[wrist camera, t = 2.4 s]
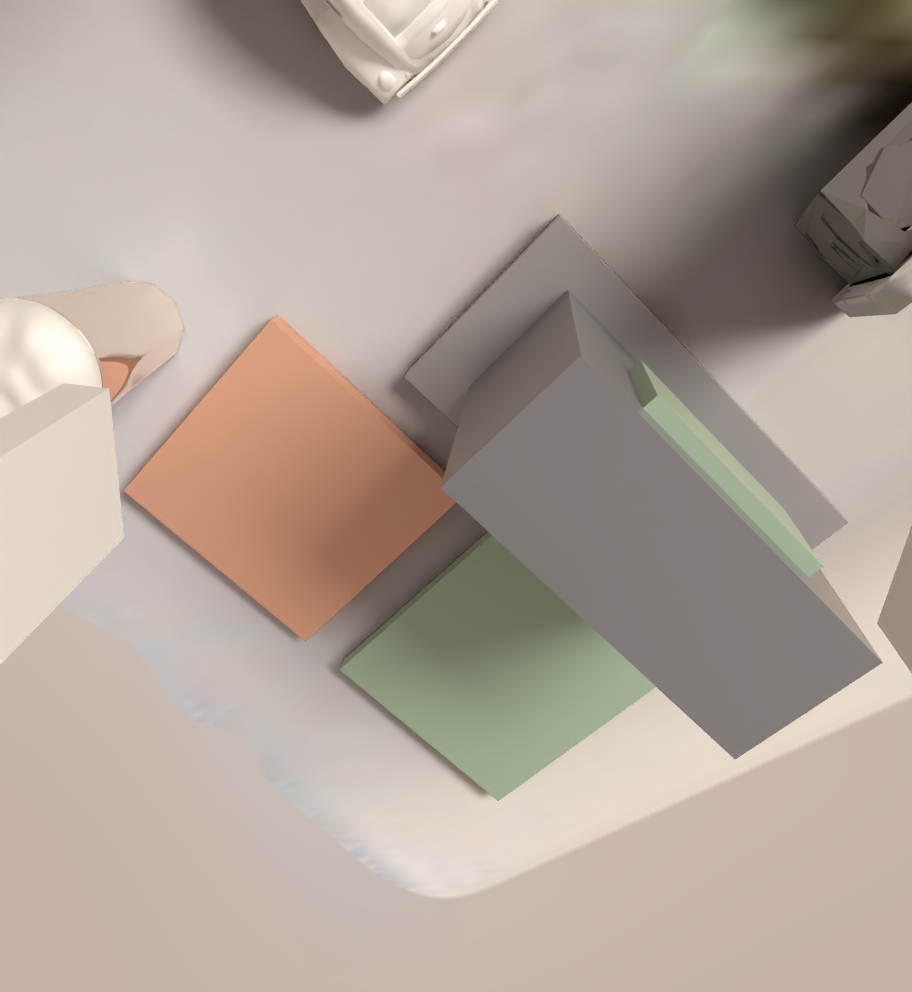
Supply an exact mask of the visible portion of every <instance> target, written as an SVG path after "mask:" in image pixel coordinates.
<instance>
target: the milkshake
mask: <svg viewBox="0 0 912 992" xmlns="http://www.w3.org/2000/svg"><path fill="white" fill-rule="evenodd" d="M183 332H184V326H183V323H182V320H181V317H180V314H179V311H178V308H177V304H176V303H175V302H174V301H173V300H172V299H171V298H170V297H168V296H167V295H166V294H165V293H164V292H163V291H161V290H160V289H159V288H158V287H157V286H156V285H154V284H146V283H138V282H131V281H125V282H119V283H112V284H106V285H100V286H94V287H87V288H81V289H75V290H69V291H63V292H58V293H50V294H41V295H32V296H22V297H13V298H1V299H0V419H1V418H2V417H4V416H6V415H8V414H9V413H11V412H13V411H15V410H17V409H18V408H20V407H22V406H24V405H25V404H27V403H29V402H31V401H33V400H34V399H36V398H38V397H40V396H42V395H43V394H45V393H47V392H49V391H50V390H52V389H54V388H56V387H58V386H59V385H61V384H63V383H66V384H75V385H85V386H94V387H103V388H109V391H110V401H111V407H112V406H113V405H114V404H115V403H116V402H117V401H118V400H119V399H121V398H122V397H123V396H124V395H125V394H126V393H127V392H129V391H130V390H131V389H132V388H133V387H135V386H136V385H137V384H138V383H140V382H141V381H142V380H143V379H145V378H146V377H147V376H148V375H150V374H151V373H152V372H154V371H155V370H156V369H157V368H159V367H160V366H161V365H162V364H164V363H165V362H166V361H167V360H169V359H170V358H171V357H172V356H174V355H175V354H176V353H177V351H178V348H179V345H180V341H181V338H182V335H183Z"/></svg>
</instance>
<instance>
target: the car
mask: <svg viewBox="0 0 912 992" xmlns="http://www.w3.org/2000/svg"><path fill="white" fill-rule="evenodd" d="M300 1H301V2H302V4H303V5H304V7H305V8H306V10H307V11H308V13H309V14H310V16H311V17H312V19H313V20H314V22H315V23H316V25H317V27H318V28H319V30H320V32H321V33H322V34H323V36H324V37H325V38H326V40H327V41H328V42H329V44H330V46H331V47H332V49H333V51H334V52H335V53H336V55H337V56H338V57H339V59H340V60H341V61H342V63H343V65H344V66H345V68H346V69H347V70H349V71H350V72H351V73H352V74H353V75H354V76H355V77H356V78H357V79H358V80H359V81H360V82H361V83H362V84H363V85H365V86H366V87H367V88H368V89H369V90H370V91H371V92H372V93H373V94H374V95H375V96H376V97H377V98H378V99H379V100H380V101H381V102H382V103H383V104H384V105H385V104H386V103H387V102H388V101H389V100H390V99H391V98H392V97H393V96H394V95H395V94H396V95H397V96H398V97H399V98H401V97H402V96H403V95H405V94H406V93H407V92H408V91H410V90H411V89H412V88H413V87H414V86H416V85H417V84H418V83H419V82H420V81H421V80H423V79H424V78H425V77H426V76H427V75H428V74H429V73H430V72H432V71H433V70H434V69H435V68H436V67H437V66H438V65H439V64H440V63H441V62H442V61H443V60H444V59H445V58H446V57H447V56H448V55H449V54H450V53H451V52H452V51H453V50H454V49H455V48H456V47H457V46H458V45H459V44H460V43H461V42H462V41H463V40H464V39H465V38H466V37H467V36H468V35H469V34H470V33H471V32H472V31H473V30H474V29H475V28H476V27H477V26H478V25H479V24H480V22H481V21H482V20H483V19H484V18H485V17H486V16H487V15H488V13H489V12H490V11H491V10H492V9H493V8H494V7H495V5H496V4H497V3H498V2H499V1H500V0H491V1H490V0H300ZM485 3H486V4H487V6H486V7H485V8H484V5H485ZM483 8H484V9H483ZM478 14H479V15H478ZM417 73H419V74H418V75H417V76H416V77H415V76H413V75H414V74H417ZM411 77H412V78H414V79H413V80H411V81H410V82H409V83H408V84H407V85H405V86H404V87H403V88H402V89H401V90H399V89H400V88H401V87H402V86H403V85H404V84H405V83H406V82H407V81H408V80H409V79H410V78H411ZM398 90H399V91H398ZM397 91H398V92H397ZM396 92H397V93H396Z"/></svg>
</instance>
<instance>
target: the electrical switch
mask: <svg viewBox="0 0 912 992" xmlns="http://www.w3.org/2000/svg"><path fill="white" fill-rule="evenodd" d="M820 192H821V193H822V194H823V195H824V196H825V198H824V199H823V198H822V197H821V196H820V195H819V194H817V195H816V196H815V198H814V199H813V200H812V202H811V203H810V205H809V206H808V207H807V209H806V210H805V211H804V213H803V214H802V215H801V217H800V218H799V219H798V221H797V222H796V223H795V225H794V226H795V227H796V228H797V229H798V230H799V231H800V232H801V233H802V234H803V235H804V236H805V237H806V238H807V239H808V240H809V241H810V242H812V243H813V245H814V246H815V247H816V248H817V249H818V254H817V256H819V257H820V258H822V259H823V260H825V261H826V262H827V263H828V264H830V265H831V266H832V267H833V268H834V269H835V270H836V271H837V272H838V273H839V274H840V275H841V276H842V277H843V278H844V280H845V281H846V282H847V283H848V285H846V286H845V287H844V288H843V289H842V290H841V291H840V292H839V293H838V294H837V295H836V296H835V297H834V298H833V299H832V300H831V302H833V303H834V304H835V305H836V306H837V307H838V308H840V309H841V310H842V311H843V312H844V313H846V314H847V315H848V316H849V317H859V316H873V315H887V314H896V313H898V312H899V311H901V310H902V309H903V308H905V307H906V306H907V305H909V304H910V303H912V102H911V103H910V104H909V105H908V106H907V107H906V108H905V109H904V110H903V111H902V112H901V113H900V114H899V115H898V116H897V117H896V118H895V119H894V120H893V121H892V122H891V123H890V124H889V125H888V126H887V127H886V128H885V129H884V130H882V131H881V132H880V133H879V134H878V135H877V136H876V137H875V138H874V139H873V140H872V141H871V142H870V143H869V144H868V145H867V146H866V147H865V148H864V149H863V150H862V151H861V152H860V153H859V154H858V155H857V156H856V157H855V158H854V159H853V160H852V161H851V162H849V163H848V164H847V165H846V166H845V167H844V168H843V169H842V170H841V171H840V172H839V173H838V174H837V175H836V176H835V177H834V178H833V179H832V180H831V181H830V182H829V183H828V184H827V185H826V186H825V187H824V188H823V189H822V190H821V191H820Z"/></svg>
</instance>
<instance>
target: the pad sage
mask: <svg viewBox="0 0 912 992" xmlns="http://www.w3.org/2000/svg"><path fill="white" fill-rule="evenodd" d="M340 671H342V672H343V673H344V674H345V675H346V676H348V677H349V678H350V679H351V680H352V681H354V682H355V683H356V684H357V685H358V686H360V687H361V688H362V689H363V690H365V691H366V692H367V693H368V694H369V695H371V696H372V697H373V698H374V699H375V700H377V701H378V702H379V703H380V704H381V705H383V706H384V707H385V708H386V709H387V710H389V711H390V712H391V713H392V714H394V715H395V716H396V717H397V718H398V719H400V720H401V721H402V722H403V723H404V724H406V725H407V726H408V727H409V728H410V729H412V730H413V731H414V732H415V733H416V734H418V735H419V736H420V737H421V738H422V739H424V740H425V741H426V742H427V743H429V744H430V745H431V746H432V747H433V748H435V749H436V750H437V751H438V752H439V753H441V754H442V755H443V756H444V757H445V758H447V759H448V760H449V761H450V762H451V763H453V764H454V765H455V766H456V767H457V768H459V769H460V770H461V771H462V772H464V773H465V774H466V775H467V776H468V777H470V778H471V779H472V780H473V781H474V782H476V783H477V784H478V785H479V786H480V787H482V788H483V789H484V790H485V791H486V792H488V793H489V794H490V795H491V796H492V797H494V798H495V799H496V800H497V801H499V800H500V799H502V798H503V797H505V796H506V795H507V794H509V793H510V792H511V791H513V790H514V789H516V788H517V787H518V786H520V785H521V784H522V783H524V782H525V781H527V780H528V779H529V778H531V777H532V776H534V775H535V774H536V773H538V772H539V771H540V770H542V769H543V768H545V767H546V766H547V765H549V764H550V763H551V762H553V761H554V760H556V759H557V758H558V757H560V756H561V755H563V754H564V753H565V752H567V751H568V750H569V749H571V748H572V747H574V746H575V745H576V744H578V743H579V742H580V741H582V740H583V739H585V738H586V737H587V736H589V735H590V734H592V733H593V732H594V731H596V730H597V729H598V728H600V727H601V726H603V725H604V724H605V723H607V722H608V721H609V720H611V719H612V718H614V717H615V716H616V715H618V714H619V713H621V712H622V711H623V710H625V709H626V708H627V707H629V706H630V705H632V704H633V703H634V702H636V701H637V700H639V699H640V698H641V697H643V696H644V695H645V694H647V693H648V692H650V691H651V690H652V689H654V688H655V687H656V686H655V685H654V684H653V683H652V682H651V681H649V680H648V679H647V678H646V677H645V676H644V675H643V674H642V673H641V672H640V671H639V670H638V669H636V668H635V667H634V666H633V665H632V664H631V663H630V662H629V661H628V660H627V659H626V658H625V657H623V656H622V655H621V654H620V653H619V652H618V651H617V650H616V649H615V648H614V647H613V646H612V645H610V644H609V643H608V642H607V641H606V640H605V639H604V638H603V637H602V636H601V635H600V634H599V633H597V632H596V631H595V630H594V629H593V628H592V627H591V626H590V625H589V624H588V623H587V622H586V621H584V620H583V619H582V618H581V617H580V616H579V615H578V614H577V613H576V612H575V611H574V610H573V609H571V608H570V607H569V606H568V605H567V604H566V603H565V602H564V601H563V600H562V599H561V598H560V597H558V596H557V595H556V594H555V593H554V592H553V591H552V590H551V589H550V588H549V587H548V586H546V585H545V584H544V583H543V582H542V581H541V580H540V579H539V578H538V577H537V576H536V575H535V574H533V573H532V572H531V571H530V570H529V569H528V568H527V567H526V566H525V565H524V564H523V563H522V562H520V561H519V560H518V559H517V558H516V557H515V556H514V555H513V554H512V553H511V552H510V551H509V550H507V549H506V548H505V547H504V546H503V545H502V544H501V543H500V542H499V541H498V540H497V539H496V538H494V537H493V536H492V535H491V534H490V533H489V532H487V533H485V534H484V535H483V536H482V537H481V538H480V539H479V540H478V541H476V542H475V543H474V544H473V545H472V546H471V547H470V548H469V549H467V550H466V551H465V552H464V553H463V554H462V555H461V556H460V557H458V558H457V559H456V560H455V561H454V562H453V563H452V564H451V565H449V566H448V567H447V568H446V569H445V570H444V571H443V572H442V573H440V574H439V575H438V576H437V577H436V578H435V579H434V580H433V581H431V582H430V583H429V584H428V585H427V586H426V587H425V588H424V589H422V590H421V591H420V592H419V593H418V594H417V595H416V596H414V597H413V598H412V599H411V600H410V601H409V602H408V603H407V604H405V605H404V606H403V607H402V608H401V609H400V610H399V611H398V612H396V613H395V614H394V615H393V616H392V617H391V618H390V619H389V620H387V621H386V622H385V623H384V624H383V625H382V626H381V627H380V628H378V629H377V630H376V631H375V632H374V633H373V634H372V635H371V636H369V637H368V638H367V639H366V640H365V641H364V642H363V643H362V644H360V645H359V646H358V647H357V648H356V649H355V650H354V651H353V652H351V653H350V654H349V655H348V656H347V657H346V658H345V659H343V662H342V665H341V667H340Z"/></svg>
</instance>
